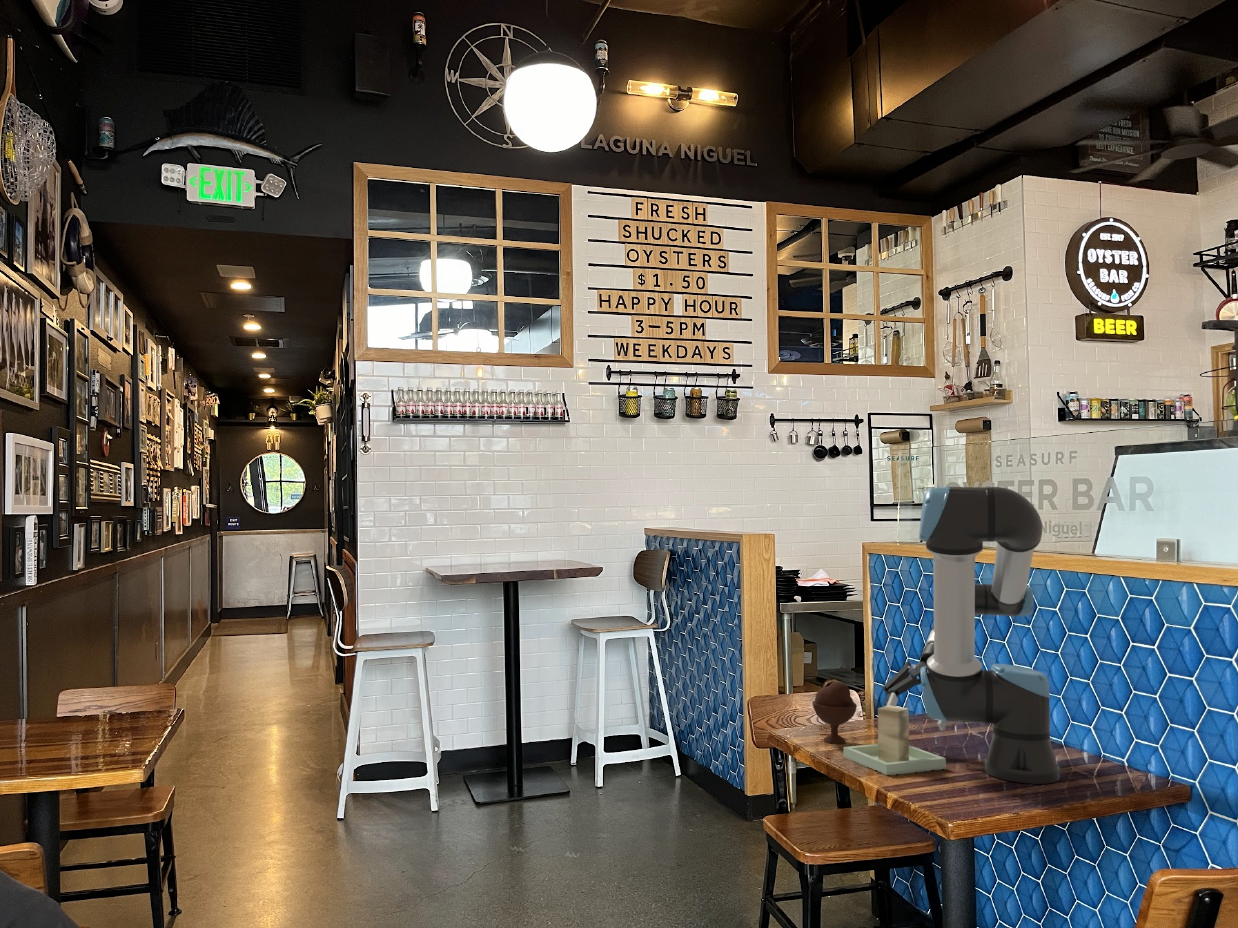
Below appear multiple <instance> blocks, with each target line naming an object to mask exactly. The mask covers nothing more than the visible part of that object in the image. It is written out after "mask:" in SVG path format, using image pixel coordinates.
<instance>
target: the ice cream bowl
mask: <svg viewBox="0 0 1238 928" xmlns="http://www.w3.org/2000/svg"><path fill="white" fill-rule="evenodd" d="M811 704H812V708H813V709H814V712H815V714H816V716H817V717H818V718H819V719H820V720H821V721H822V722H824V723H825V724H827V725H829V726H830V734H829V735H827V736H824V737H823V742H824V743H827V744H831V745H842V744H841V743H843V744H846V743H845V742H846V739H845V738H843V737H842V736H841V735H839V727H840V726H841V725H843V724H845V723H847V722H849V721H850V720H851V719H852V718H853V717H854V716H855V714H856V712H857V707H858V704H856V702H854V699H853V698H852V697H851V690H850V688H849V686H848V685H847V684H846V683H844V682H843V681H833V682H831V683H830V684H829V685H828V686H825V687H824V686H823V687H822V688H820V689H819V690H818V691H817V692H816V694H815V697H814V700H812V701H811ZM839 743H840V744H839Z"/></svg>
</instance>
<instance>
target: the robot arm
mask: <svg viewBox="0 0 1238 928" xmlns="http://www.w3.org/2000/svg"><path fill="white" fill-rule="evenodd" d="M1043 531H1044V530H1043V522H1042V519H1041V516H1040V514H1039V512H1038V510H1037V509H1036V508H1035V505H1033V503H1032V502H1030V501H1029V499H1027V498H1026V497H1024V496H1023V495H1022V494H1020V493H1019V492H1017V491H1015V490H1012V489H1009V488H1007V487H1002V486H991V487H988V486H986V487H985V486H981V487H980V486H979V487H977V486H973V487H971V486H949V485H947V486H945V487H943V486H942V487H932V488H931V487H930V488H929V489H927V490H926V491H925V492H924V495H923V501H922V506H921V514H920V523H919V531H918V533H919V534H918V535H919V536H918V539H919V540H920V541H922V542H925V549H926V550H927V551H928V552H929V553H930V554H931V555H932V558H933V563H932V565H933V567H932V568H933V569H932V570H933V574H932V575H933V624H932V627H931V630H930V633H929V634H928V637H927V640H926V642H925V644H924V647H923V649H922V651H921V655H920V658H919V662H917V664H912V662H911V661H909V660H907V661H906V662H905V663H904V665H903V667H902V668H901V669H900V670H898V672H897V673H895V675H893V676H892V677H891V678H890V679H889V680H888V681H887V682H886V683H885V684H883V686H882V690H883V691H884V693H885V695H886V697H885V698H886V699H885V700H884V706H888V705H890V706H896V707H897V704H898V701H899V699H898V698H899V696H900V695H902V694H903V693H905V692H907V691H908V690H910V689H912V688H914V687H916V686H920V685H921V691H922V699H923V705H924V709H925V713H926V715H927V716H928V717H929V718H930V719H931V720H937V722H936V725H937V726H938V728H939V730H940V731H941V732H944V731H945V729H946V727H947V723H948V722H949V723H950V722H957V723H971V724H986V725H992V738H991V741H990V744H989V747H988V753H987V756H985V759H984V772H985V773H986V774H987V775H990V776H991V777H994V778H997V779H1000V780H1004V781H1008V782H1014V783H1015V782H1016V783H1021V784H1022V783H1023V784H1032V785H1033V784H1034V785H1037V784H1039V785H1041V784H1042V785H1045V784H1053V783H1056V782H1058V781H1059V780H1060V779H1061V772H1060V770H1061V769H1060V766H1059V764H1058V763H1057V759H1056V755H1055V752H1054V748H1053V746H1052V743H1051V720H1050V719H1051V718H1050V717H1051V715H1050V708H1051V707H1050V698H1051V693H1050V682H1049V679H1048V677H1047V676H1046V674H1044V673H1043V672H1041V671H1038V670H1035V669H1032V668H1028V667H1023V666H1019V665H1014V664H1007V663H993V664H992V665H991V667H990V670H983V664H982V662H981V661H980V659H978V658H977V657H976V656H975V655H976V653H975V648H976V646H975V645H976V644H975V643H976V640H975V638H976V636H975V635H976V631H975V630H976V629H975V627H976V625H975V624H976V619H975V618H976V615H977V616H978V615H979V616H981V615H983V616H1002V617H1014V618H1016V617H1017V618H1018V617H1029V616H1032V614H1033V613H1034V603H1035V602H1034V601H1035V600H1034V591H1033V588H1032V586H1030V585H1028V582H1029V576H1030V570H1031V566H1032V562H1033V556H1034V550H1035V548H1037V547H1038V546H1039V544H1040V543H1041V540H1042V536H1043ZM983 542H986V543H989V542H993V543H994V542H996V551H995V559H994V560H995V561H994V566H993V576H992V582H991V583H992V584H991V583H987V584H986V583H976V557H977V556H978V555H979V554H980V553H982V551H983V549H984V547H983V546H984V543H983Z"/></svg>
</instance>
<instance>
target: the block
mask: <svg viewBox="0 0 1238 928" xmlns="http://www.w3.org/2000/svg"><path fill="white" fill-rule="evenodd" d="M909 716H910V715H909V708H907V707H902V706H897V705H896V706H890V705H888V706H886V705H884V706H881V707H877V730H878V731H877V744H878V759H879V760H882V761H884V762H887V763H890V762H900V761H909V745H910V739H909V738H910V734H909V733H910V731H909V727H910V725H909V723H910V722H909V718H910V717H909Z"/></svg>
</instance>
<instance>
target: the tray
mask: <svg viewBox="0 0 1238 928" xmlns="http://www.w3.org/2000/svg"><path fill="white" fill-rule="evenodd" d="M843 759H846V760H848V761H850V762H853V763H856V764H858V765H860V766H862V765H863V766H862V767H864V768H867V767H869V768H872V769H874V770H877V771H878V772H877V773H879V772H881V773H882V775H883V774H885V775H884V776H886V775H890V776H897V775H896V774H899V775H905V774H915V772H917V773H923V772H924V773H925V771H926V772H932V771H931V770H935V771H941V770H942V769H944V770H946V769H947V760H946V757H943V756H940V755H938V754H934V753H932V752H929V751H926V750H923V749H921V748H919V747H915V746H912V745H910V744H909V761H900V762H890V763H887V762H884V761H882V760H879V759H878V743H874V744H873V743H871V744H864V745H852V746H850V745H849V746H844V747H843ZM869 768H868V769H869ZM872 769H871V770H872ZM874 770H873V771H874ZM942 771H943V770H942ZM881 773H880V774H881Z"/></svg>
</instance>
